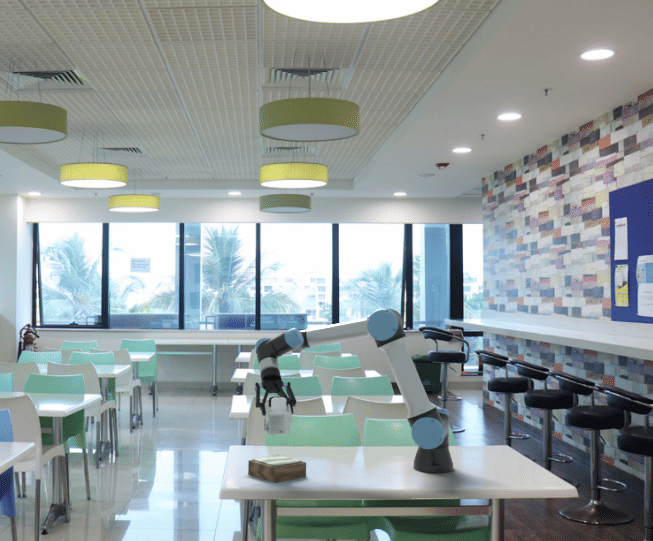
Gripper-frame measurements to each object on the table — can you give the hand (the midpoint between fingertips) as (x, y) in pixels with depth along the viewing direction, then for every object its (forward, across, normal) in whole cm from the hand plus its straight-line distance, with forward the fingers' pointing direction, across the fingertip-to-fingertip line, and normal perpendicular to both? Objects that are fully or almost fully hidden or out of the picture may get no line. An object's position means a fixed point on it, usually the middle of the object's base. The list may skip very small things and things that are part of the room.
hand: (279, 421), depth 247 cm
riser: (+12, 0, -16) cm, 20 cm away
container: (+1, 0, -6) cm, 6 cm away
